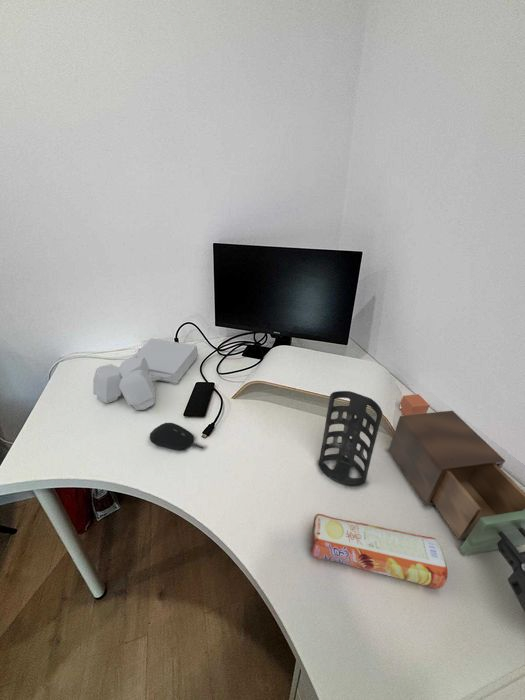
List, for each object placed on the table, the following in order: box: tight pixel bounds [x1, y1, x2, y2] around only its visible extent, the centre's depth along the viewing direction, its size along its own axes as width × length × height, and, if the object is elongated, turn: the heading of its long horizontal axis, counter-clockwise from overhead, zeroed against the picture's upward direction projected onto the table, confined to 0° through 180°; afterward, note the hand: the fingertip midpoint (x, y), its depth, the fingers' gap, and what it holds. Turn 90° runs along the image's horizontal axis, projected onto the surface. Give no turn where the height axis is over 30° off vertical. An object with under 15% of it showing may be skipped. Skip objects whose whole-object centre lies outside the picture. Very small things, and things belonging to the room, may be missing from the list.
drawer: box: [431, 464, 525, 560], centre depth 54 cm, size 18×12×10 cm
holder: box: [318, 390, 384, 487], centre depth 64 cm, size 11×8×20 cm
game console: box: [92, 338, 199, 411], centre depth 95 cm, size 20×32×13 cm, turn 164°
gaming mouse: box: [149, 422, 204, 451], centre depth 74 cm, size 6×15×4 cm, turn 72°
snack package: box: [310, 513, 449, 590], centre depth 51 cm, size 21×7×7 cm, turn 76°
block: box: [400, 393, 430, 416], centre depth 84 cm, size 5×5×5 cm
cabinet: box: [388, 410, 506, 507], centre depth 65 cm, size 15×14×12 cm
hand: (516, 538), depth 49 cm, fingers closed on drawer, 5 cm apart
